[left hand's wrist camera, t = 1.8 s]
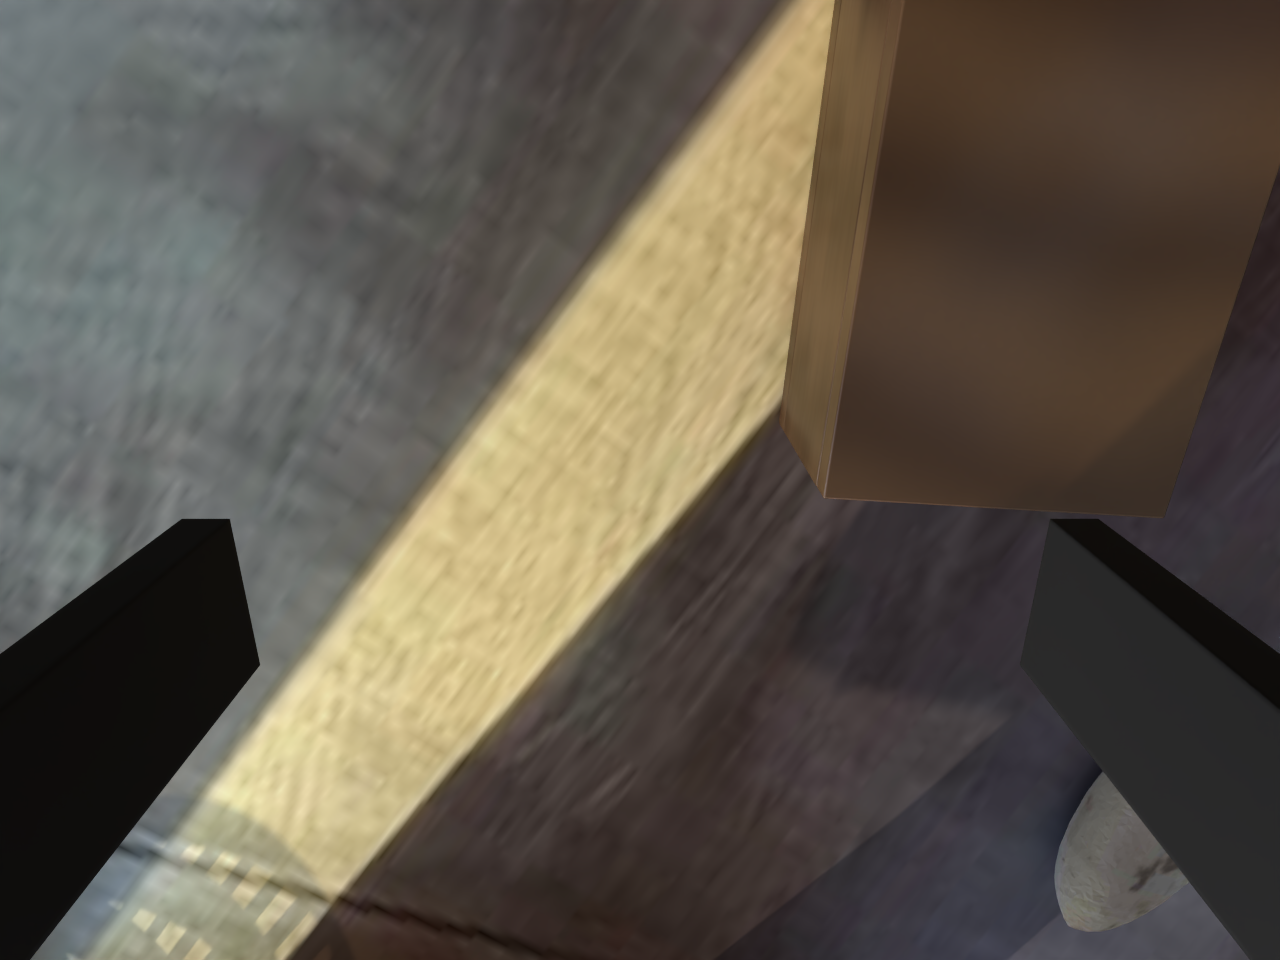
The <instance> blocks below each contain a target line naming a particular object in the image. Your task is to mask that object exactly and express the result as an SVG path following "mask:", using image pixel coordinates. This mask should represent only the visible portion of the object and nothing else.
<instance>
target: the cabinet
mask: <svg viewBox="0 0 1280 960" xmlns="http://www.w3.org/2000/svg"><path fill="white" fill-rule="evenodd" d="M1279 167H1280V0H835V4H834V12H833V19H832V27H831V34H830V42H829V49H828V57H827V64H826V72H825V80H824V87H823V95H822V102H821V110H820V117H819V125H818V132H817V140H816V147H815V155H814V163H813V170H812V178H811V185H810V193H809V200H808V208H807V215H806V223H805V230H804V238H803V246H802V253H801V261H800V268H799V276H798V283H797V291H796V298H795V306H794V313H793V321H792V329H791V336H790V344H789V351H788V359H787V366H786V374H785V381H784V389H783V396H782V404H781V411H780V419H779V424H780V425H781V427H782V429H783V430H784V432H785V434H786V436H787V437H788V439H789V441H790V442H791V444H792V446H793V447H794V449H795V451H796V452H797V454H798V456H799V458H800V459H801V461H802V463H803V464H804V466H805V468H806V469H807V471H808V473H809V474H810V476H811V478H812V480H813V481H814V483H815V485H816V486H817V487H818V489H819V491H820V492H821V494H822V496H823V497H824V498H829V499H846V500H862V501H879V502H896V503H913V504H930V505H947V506H964V507H981V508H997V509H1014V510H1031V511H1048V512H1065V513H1082V514H1099V515H1116V516H1133V517H1149V518H1164V516H1165V513H1166V510H1167V507H1168V504H1169V501H1170V498H1171V495H1172V492H1173V489H1174V486H1175V483H1176V480H1177V477H1178V474H1179V471H1180V468H1181V465H1182V462H1183V459H1184V456H1185V453H1186V450H1187V447H1188V444H1189V441H1190V438H1191V434H1192V431H1193V428H1194V425H1195V422H1196V419H1197V416H1198V413H1199V410H1200V407H1201V404H1202V401H1203V398H1204V395H1205V392H1206V389H1207V386H1208V383H1209V380H1210V377H1211V374H1212V371H1213V368H1214V365H1215V362H1216V359H1217V356H1218V352H1219V349H1220V346H1221V343H1222V340H1223V337H1224V334H1225V331H1226V328H1227V325H1228V322H1229V319H1230V316H1231V313H1232V310H1233V307H1234V304H1235V301H1236V298H1237V295H1238V292H1239V289H1240V286H1241V283H1242V280H1243V277H1244V274H1245V270H1246V267H1247V264H1248V261H1249V258H1250V255H1251V252H1252V249H1253V246H1254V243H1255V240H1256V237H1257V234H1258V231H1259V228H1260V225H1261V222H1262V219H1263V216H1264V213H1265V210H1266V207H1267V204H1268V201H1269V198H1270V195H1271V192H1272V188H1273V185H1274V182H1275V179H1276V176H1277V173H1278V170H1279Z"/></svg>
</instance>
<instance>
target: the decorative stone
mask: <svg viewBox="0 0 1280 960" xmlns="http://www.w3.org/2000/svg"><path fill="white" fill-rule="evenodd" d="M1054 877H1055V889H1056V894H1057V899H1058V903H1059V907H1060V909H1061V912H1062V914H1063V917H1064V919H1065V920H1066V923H1067V924H1068V926H1070V927H1072V928H1074V929H1079V930H1083V931H1086V932H1091V931H1105V930H1110V929H1113V928H1116V927H1119V926H1121V925H1123V924H1126V923H1129V922H1131V921H1133V920H1135V919H1137V918H1138V917H1140V916H1142V915H1144V914H1146V913H1148V912H1149V911H1151V910H1153V909H1155V908H1156V907H1157V906H1159V905H1160V904H1162V903H1163V902H1165V901H1166V900H1168V899H1169V898H1170V897H1171V896H1172V895H1173V894H1175V893H1176V892H1177V891H1179V890H1180V889H1181V888H1182V887H1184V886H1185V885H1186V884H1188V883H1189V881H1188V880H1187V878H1186V877H1185V876H1184V875H1183V873H1182V872H1181V871H1180V869H1179V868H1178V867H1177V866H1176V864H1175V863H1174V862H1173V860H1172V859H1171V858H1170V857H1169V855H1168V854H1167V853H1166V851H1165V850H1164V849H1163V848H1162V846H1161V845H1160V844H1159V842H1158V841H1157V840H1156V839H1155V837H1154V836H1153V835H1152V834H1151V832H1150V831H1149V830H1148V828H1147V827H1146V826H1145V825H1144V823H1143V822H1142V821H1141V819H1140V818H1139V817H1138V816H1137V814H1136V813H1135V812H1134V810H1133V809H1132V808H1131V807H1130V805H1129V804H1128V803H1127V801H1126V800H1125V799H1124V798H1123V796H1122V795H1121V794H1120V793H1119V791H1118V790H1117V789H1116V787H1115V786H1114V785H1113V784H1112V782H1111V781H1110V780H1109V778H1108V777H1107V776H1106V775H1105V773H1104V772H1102V773H1101V774H1100V775H1099V777H1098V778H1097V779H1096V780H1095V782H1094V783H1093V784H1092V786H1091V787H1090V788H1089V790H1088V791H1087V793H1086V794H1085V796H1084V798H1083V799H1082V801H1081V803H1080V805H1079V807H1078V808H1077V810H1076V812H1075V813H1074V815H1073V817H1072V819H1071V821H1070V823H1069V825H1068V827H1067V830H1066V832H1065V835H1064V837H1063V839H1062V841H1061V844H1060V847H1059V851H1058V855H1057V859H1056V864H1055V875H1054Z"/></svg>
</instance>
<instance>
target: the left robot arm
mask: <svg viewBox="0 0 1280 960" xmlns="http://www.w3.org/2000/svg"><path fill="white" fill-rule="evenodd" d="M259 666H260V662H259V657H258V653H257V648H256V643H255V638H254V633H253V629H252V624H251V619H250V614H249V609H248V604H247V600H246V595H245V590H244V585H243V580H242V576H241V571H240V566H239V561H238V556H237V552H236V547H235V542H234V537H233V532H232V528H231V523H230V519H181V520H180V521H178V522H177V523H176V524H174V525H173V526H172V527H170V528H169V529H168V530H166V531H165V532H164V533H162V534H161V535H160V536H158V537H157V538H156V539H154V540H153V541H152V542H150V543H149V544H148V545H146V546H145V547H143V548H142V549H141V550H139V551H138V552H137V553H135V554H134V555H133V556H131V557H130V558H129V559H127V560H126V561H125V562H123V563H122V564H121V565H119V566H118V567H117V568H115V569H114V570H113V571H111V572H110V573H109V574H107V575H106V576H105V577H103V578H102V579H100V580H99V581H98V582H96V583H95V584H94V585H92V586H91V587H90V588H88V589H87V590H86V591H84V592H83V593H82V594H80V595H79V596H78V597H76V598H75V599H74V600H72V601H71V602H70V603H68V604H67V605H66V606H64V607H63V608H61V609H60V610H59V611H57V612H56V613H55V614H53V615H52V616H51V617H49V618H48V619H47V620H45V621H44V622H43V623H41V624H40V625H39V626H37V627H36V628H35V629H33V630H32V631H31V632H29V633H28V634H27V635H25V636H24V637H23V638H21V639H20V640H18V641H17V642H16V643H14V644H13V645H12V646H10V647H9V648H8V649H6V650H5V651H4V652H2V653H1V654H0V960H30V959H31V958H32V957H33V955H34V954H35V953H36V951H37V950H38V949H39V948H40V946H41V945H42V944H43V942H44V941H45V940H46V939H47V937H48V936H49V935H50V933H51V932H52V931H53V930H54V928H55V927H56V926H57V925H58V923H59V922H60V921H61V919H62V918H63V917H64V916H65V914H66V913H67V912H68V910H69V909H70V908H71V907H72V905H73V904H74V903H75V901H76V900H77V899H78V898H79V896H80V895H81V894H82V892H83V891H84V890H85V889H86V887H87V886H88V885H89V883H90V882H91V881H92V880H93V878H94V877H95V876H96V875H97V873H98V872H99V871H100V869H101V868H102V867H103V866H104V864H105V863H106V862H107V860H108V859H109V858H110V857H111V855H112V854H113V853H114V851H115V850H116V849H117V848H118V846H119V845H120V844H121V842H122V841H123V840H124V839H125V837H126V836H127V835H128V834H129V832H130V831H131V830H132V828H133V827H134V826H135V825H136V823H137V822H138V821H139V819H140V818H141V817H142V816H143V814H144V813H145V812H146V810H147V809H148V808H149V807H150V805H151V804H152V803H153V801H154V800H155V799H156V798H157V796H158V795H159V794H160V793H161V791H162V790H163V789H164V787H165V786H166V785H167V784H168V782H169V781H170V780H171V778H172V777H173V776H174V775H175V773H176V772H177V771H178V769H179V768H180V767H181V766H182V764H183V763H184V762H185V760H186V759H187V758H188V757H189V755H190V754H191V753H192V751H193V750H194V749H195V748H196V746H197V745H198V744H199V743H200V741H201V740H202V739H203V737H204V736H205V735H206V734H207V732H208V731H209V730H210V728H211V727H212V726H213V725H214V723H215V722H216V721H217V719H218V718H219V717H220V716H221V714H222V713H223V712H224V710H225V709H226V708H227V707H228V705H229V704H230V703H231V702H232V700H233V699H234V698H235V696H236V695H237V694H238V693H239V691H240V690H241V689H242V687H243V686H244V685H245V684H246V682H247V681H248V680H249V678H250V677H251V676H252V675H253V673H254V672H255V671H256V669H257V668H258V667H259ZM1020 666H1021V667H1022V668H1023V669H1024V671H1025V672H1026V673H1027V675H1028V676H1029V677H1030V678H1031V680H1032V681H1033V682H1034V684H1035V685H1036V686H1037V687H1038V689H1039V690H1040V691H1041V693H1042V694H1043V695H1044V696H1045V698H1046V699H1047V700H1048V702H1049V703H1050V704H1051V705H1052V707H1053V708H1054V709H1055V710H1056V712H1057V713H1058V714H1059V716H1060V717H1061V718H1062V719H1063V721H1064V722H1065V723H1066V725H1067V726H1068V727H1069V728H1070V730H1071V731H1072V732H1073V734H1074V735H1075V736H1076V737H1077V739H1078V740H1079V741H1080V743H1081V744H1082V745H1083V746H1084V748H1085V749H1086V750H1087V751H1088V753H1089V754H1090V755H1091V757H1092V758H1093V759H1094V760H1095V762H1096V763H1097V764H1098V766H1099V767H1100V768H1101V769H1102V771H1103V772H1104V773H1105V775H1106V776H1107V777H1108V778H1109V780H1110V781H1111V782H1112V784H1113V785H1114V786H1115V787H1116V789H1117V790H1118V791H1119V793H1120V794H1121V795H1122V796H1123V798H1124V799H1125V800H1126V801H1127V803H1128V804H1129V805H1130V807H1131V808H1132V809H1133V810H1134V812H1135V813H1136V814H1137V816H1138V817H1139V818H1140V819H1141V821H1142V822H1143V823H1144V825H1145V826H1146V827H1147V828H1148V830H1149V831H1150V832H1151V834H1152V835H1153V836H1154V837H1155V839H1156V840H1157V841H1158V842H1159V844H1160V845H1161V846H1162V848H1163V849H1164V850H1165V851H1166V853H1167V854H1168V855H1169V857H1170V858H1171V859H1172V860H1173V862H1174V863H1175V864H1176V866H1177V867H1178V868H1179V869H1180V871H1181V872H1182V873H1183V875H1184V876H1185V877H1186V878H1187V880H1188V881H1189V882H1190V883H1191V885H1192V886H1193V887H1194V889H1195V890H1196V891H1197V892H1198V894H1199V895H1200V896H1201V898H1202V899H1203V900H1204V901H1205V903H1206V904H1207V905H1208V907H1209V908H1210V909H1211V910H1212V912H1213V913H1214V914H1215V916H1216V917H1217V918H1218V919H1219V921H1220V922H1221V923H1222V925H1223V926H1224V927H1225V928H1226V930H1227V931H1228V932H1229V933H1230V935H1231V936H1232V937H1233V939H1234V940H1235V941H1236V942H1237V944H1238V945H1239V946H1240V948H1241V949H1242V950H1243V951H1244V953H1245V954H1246V955H1247V957H1248V958H1249V959H1250V960H1280V654H1279V653H1278V652H1276V651H1275V650H1274V649H1272V648H1271V647H1270V646H1268V645H1267V644H1266V643H1264V642H1263V641H1262V640H1260V639H1259V638H1257V637H1256V636H1255V635H1253V634H1252V633H1251V632H1249V631H1248V630H1247V629H1245V628H1244V627H1243V626H1241V625H1240V624H1239V623H1237V622H1236V621H1235V620H1233V619H1232V618H1231V617H1229V616H1228V615H1227V614H1225V613H1224V612H1223V611H1221V610H1220V609H1219V608H1217V607H1216V606H1214V605H1213V604H1212V603H1210V602H1209V601H1208V600H1206V599H1205V598H1204V597H1202V596H1201V595H1200V594H1198V593H1197V592H1196V591H1194V590H1193V589H1192V588H1190V587H1189V586H1188V585H1186V584H1185V583H1184V582H1182V581H1181V580H1180V579H1178V578H1177V577H1175V576H1174V575H1173V574H1171V573H1170V572H1169V571H1167V570H1166V569H1165V568H1163V567H1162V566H1161V565H1159V564H1158V563H1157V562H1155V561H1154V560H1153V559H1151V558H1150V557H1149V556H1147V555H1146V554H1145V553H1143V552H1142V551H1141V550H1139V549H1138V548H1137V547H1135V546H1134V545H1132V544H1131V543H1130V542H1128V541H1127V540H1126V539H1124V538H1123V537H1122V536H1120V535H1119V534H1118V533H1116V532H1115V531H1114V530H1112V529H1111V528H1110V527H1108V526H1107V525H1106V524H1104V523H1103V522H1102V521H1100V520H1099V519H1050V523H1049V528H1048V532H1047V537H1046V542H1045V547H1044V552H1043V556H1042V561H1041V566H1040V571H1039V576H1038V580H1037V585H1036V590H1035V595H1034V600H1033V604H1032V609H1031V614H1030V619H1029V624H1028V629H1027V633H1026V638H1025V643H1024V648H1023V653H1022V657H1021V662H1020Z"/></svg>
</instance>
